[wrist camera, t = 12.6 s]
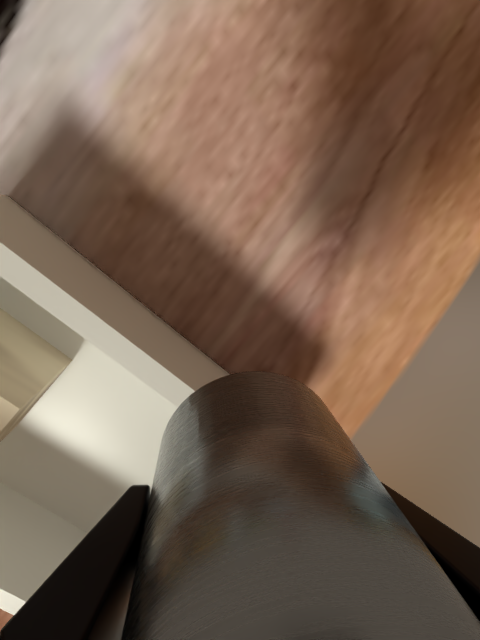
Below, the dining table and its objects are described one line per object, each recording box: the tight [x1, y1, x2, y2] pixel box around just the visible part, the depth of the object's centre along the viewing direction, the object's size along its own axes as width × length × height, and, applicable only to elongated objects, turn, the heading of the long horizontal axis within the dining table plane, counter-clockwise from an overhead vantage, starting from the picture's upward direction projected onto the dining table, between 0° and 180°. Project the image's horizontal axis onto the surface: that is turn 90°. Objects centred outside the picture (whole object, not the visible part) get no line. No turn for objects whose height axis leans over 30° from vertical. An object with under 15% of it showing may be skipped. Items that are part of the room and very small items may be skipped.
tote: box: [0, 194, 230, 615], centre depth 16 cm, size 18×14×5 cm
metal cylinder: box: [121, 371, 480, 640], centre depth 6 cm, size 5×5×7 cm
